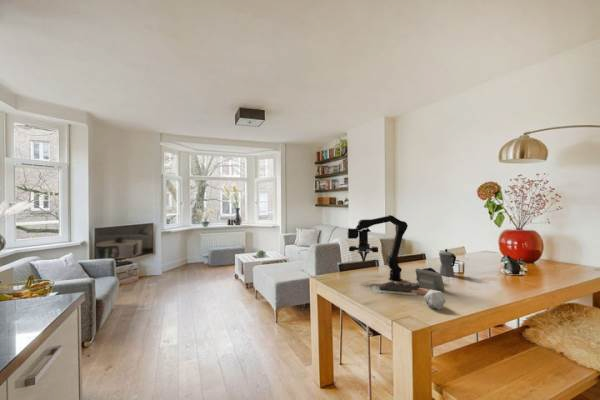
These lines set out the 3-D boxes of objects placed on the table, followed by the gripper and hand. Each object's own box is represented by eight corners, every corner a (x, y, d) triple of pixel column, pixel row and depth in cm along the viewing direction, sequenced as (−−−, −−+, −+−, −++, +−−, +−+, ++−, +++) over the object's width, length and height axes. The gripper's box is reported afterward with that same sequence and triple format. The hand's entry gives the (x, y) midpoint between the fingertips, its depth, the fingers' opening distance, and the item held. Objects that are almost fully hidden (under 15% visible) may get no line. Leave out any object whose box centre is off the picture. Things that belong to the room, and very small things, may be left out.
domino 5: (411, 290, 158) (428, 291, 156) (411, 292, 154) (429, 294, 151) (411, 287, 158) (427, 288, 156) (411, 290, 154) (429, 291, 151)
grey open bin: (415, 278, 185) (414, 264, 184) (437, 278, 180) (436, 263, 180) (417, 286, 172) (416, 270, 172) (441, 286, 168) (439, 270, 167)
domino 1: (380, 287, 164) (395, 283, 161) (380, 290, 159) (395, 285, 157) (379, 285, 164) (393, 280, 161) (379, 287, 159) (394, 283, 157)
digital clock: (446, 291, 157) (446, 272, 157) (435, 293, 153) (434, 274, 153) (423, 283, 171) (423, 266, 171) (412, 285, 168) (412, 268, 168)
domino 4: (403, 289, 160) (418, 285, 157) (403, 292, 155) (419, 287, 152) (402, 286, 160) (417, 282, 157) (402, 289, 155) (418, 285, 153)
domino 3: (395, 288, 161) (410, 284, 159) (395, 291, 156) (411, 287, 154) (394, 286, 161) (409, 281, 159) (394, 288, 157) (410, 284, 154)
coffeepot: (434, 272, 195) (434, 247, 196) (446, 271, 197) (445, 247, 197) (449, 278, 180) (449, 251, 180) (462, 277, 182) (461, 251, 182)
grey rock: (423, 304, 139) (419, 292, 135) (437, 295, 140) (433, 282, 136) (435, 316, 132) (431, 303, 127) (450, 306, 132) (447, 293, 128)
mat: (415, 289, 160) (414, 289, 160) (416, 295, 151) (416, 294, 151) (372, 286, 168) (372, 285, 168) (371, 291, 158) (371, 290, 158)
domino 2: (388, 288, 163) (402, 283, 160) (388, 290, 158) (403, 286, 155) (387, 285, 163) (401, 281, 160) (386, 288, 158) (402, 283, 155)
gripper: (347, 239, 176) (347, 263, 176) (377, 240, 171) (377, 265, 171) (350, 237, 187) (350, 260, 187) (378, 238, 181) (378, 261, 181)
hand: (363, 261), depth 181 cm, fingers closed
